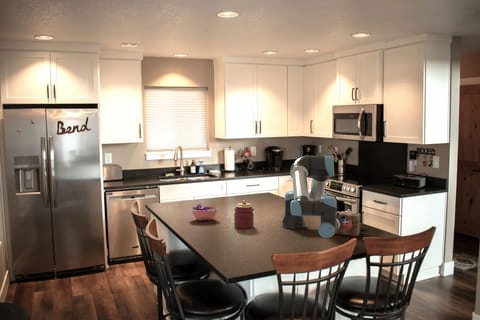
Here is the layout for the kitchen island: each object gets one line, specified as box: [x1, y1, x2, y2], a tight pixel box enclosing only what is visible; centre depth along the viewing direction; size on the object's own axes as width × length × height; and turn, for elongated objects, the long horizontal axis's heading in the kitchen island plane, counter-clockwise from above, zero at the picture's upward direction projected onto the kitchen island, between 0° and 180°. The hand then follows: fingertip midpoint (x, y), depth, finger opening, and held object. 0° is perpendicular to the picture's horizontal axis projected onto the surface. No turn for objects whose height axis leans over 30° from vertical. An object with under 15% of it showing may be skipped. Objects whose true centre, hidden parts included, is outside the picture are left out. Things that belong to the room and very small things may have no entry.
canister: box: [233, 199, 255, 230], centre depth 280 cm, size 13×13×18 cm
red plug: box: [343, 220, 353, 230], centre depth 263 cm, size 5×13×5 cm, turn 154°
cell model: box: [189, 203, 219, 222], centre depth 300 cm, size 17×20×11 cm
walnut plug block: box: [335, 210, 361, 237], centre depth 268 cm, size 20×8×12 cm, turn 64°
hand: (343, 213), depth 243 cm, fingers closed
